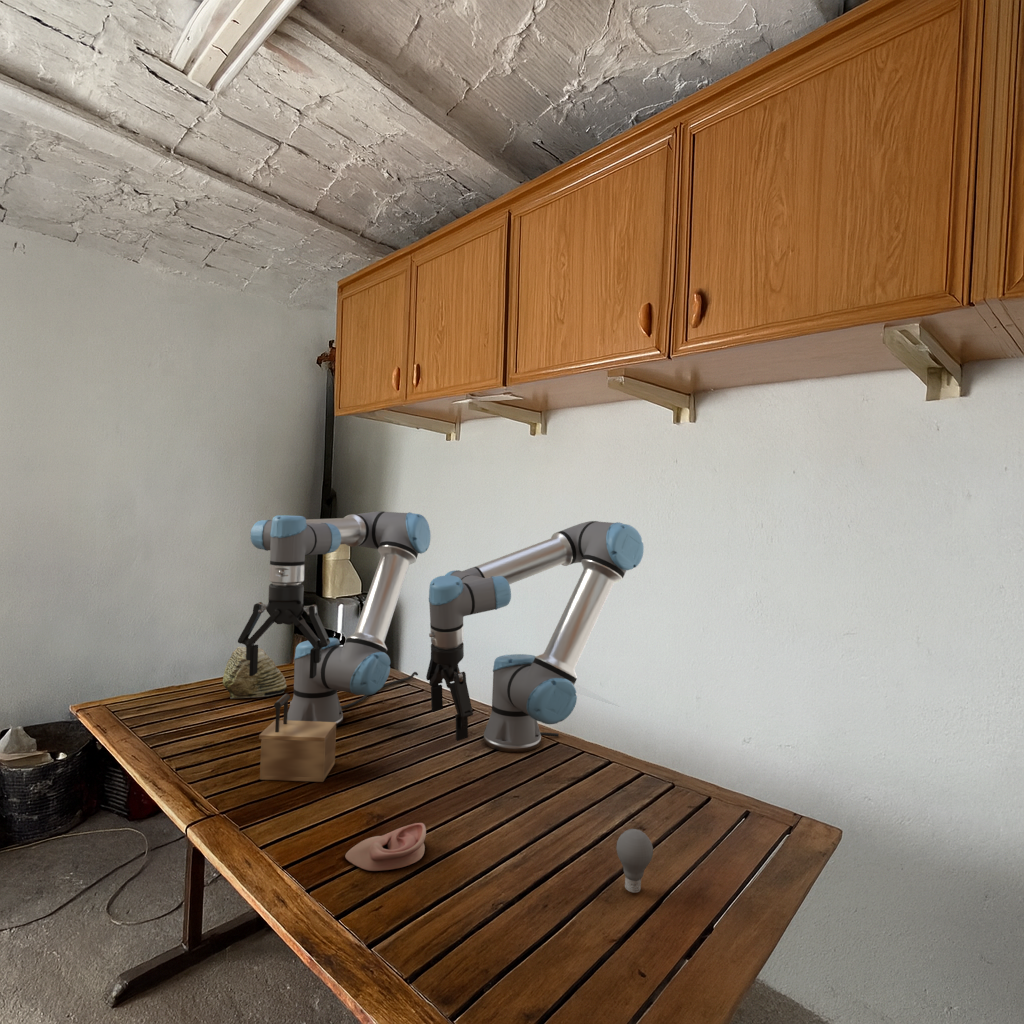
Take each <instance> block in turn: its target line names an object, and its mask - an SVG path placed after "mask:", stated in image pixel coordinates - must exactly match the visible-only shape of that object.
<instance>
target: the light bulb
mask: <svg viewBox="0 0 1024 1024" xmlns="http://www.w3.org/2000/svg"><path fill="white" fill-rule="evenodd" d="M615 849H616V854H617V857H618V859H619V861H620V863H621V865H622V867H623V873H624V874H623V875H624V876H625V878H624V888H625V890H627V891H628V892H630V893H634V894H635V893H639V892H640V891H641V889H642V887H641V886H642V879H643V877H644V875H645V871H646V868H647V867H648V866H649V864H650V863H651V861H652V859H653V855H654V847H653V843H652V841H651V838H649V836H648V835H647V834H646V833H645V832H643V831H642V830H641V829H636V828H629V829H627V830H625V831H623V832H622V833H621V834H620V835H619V837H618V839H617V841H616V847H615Z"/></svg>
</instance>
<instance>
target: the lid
mask: <svg viewBox="0 0 1024 1024" xmlns="http://www.w3.org/2000/svg"><path fill="white" fill-rule="evenodd" d="M290 699H291V695H290V694H289V693H285V694H283V695H282V696H281V697H280V698H279V699H277V700H276V701H275V702H274V703H273V707H274V709H275V719H274V720H273V721H272V722H271V723H270V724H269V725H268V726H267V727H266V728H265V729H264V730H262V732H260V733H259V735H258V740H261V739H269V740H296V741H322V742H325V740H326V739H327V738H328V736H329V735H330V734H331V732H332V731H333V730H334V728H335V727H336V722H318V721H292V720H287V715H288V710H289V701H290ZM282 707H283V719H281V708H282ZM336 728H337V727H336Z"/></svg>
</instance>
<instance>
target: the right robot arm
mask: <svg viewBox="0 0 1024 1024" xmlns="http://www.w3.org/2000/svg"><path fill="white" fill-rule="evenodd" d="M644 548H645V546H644V542H643V538H642V535H641V534H640V532H639V530H637V528H636V527H634V526H632V525H631V524H626V523H623V522H618V521H616V522H609V521H599V520H589V521H585V522H581V523H578V524H576V525H575V524H574V525H572V526H570V527H567V528H564V529H562V530H560V531H557V532H554V533H553V534H552V535H551V537H550V538H549V539H548V538H547V539H546V540H543V541H541V542H538V543H535V544H531V545H530V546H526V547H524V548H521V549H518V550H516V551H513V552H510V553H508V554H505V555H502V556H499V557H497V558H495V559H492V560H489V561H486V562H483V563H480V564H478V565H476V566H472V567H470V568H467V569H464V570H457V569H456V570H450V571H448V572H447V573H445V574H444V575H439V576H437V577H435V578H433V579H432V580H431V581H430V583H429V589H428V602H429V603H428V604H429V619H430V620H429V621H430V622H429V623H430V624H429V625H430V633H428V636H429V638H430V660H429V664H428V668H427V672H426V675H425V677H426V678H425V679H426V681H428V682H429V686H430V703H431V712H432V713H435V712H438V711H442V710H443V709H444V704H443V703H444V702H443V699H444V698H443V685H442V684H443V683H444V682H445V686H446V688H447V689H449V691H450V695H451V697H452V701H453V704H454V708H455V711H456V714H455V715H454V718H455V740H456V741H457V742H460V741H462V740H466V739H468V738H469V717H472V716H474V712H473V706H472V703H471V697H470V694H469V693H470V692H469V689H468V684H467V674H466V672H465V671H460V667H459V663H460V662H461V661H462V660H463V659H464V656H465V649H464V647H465V646H464V640H465V638H464V637H465V636H464V635H465V633H464V617H466V616H467V617H468V616H471V615H475V614H480V613H485V612H489V611H495V610H498V609H501V608H504V607H507V606H508V605H509V604H510V603H511V600H512V588H511V586H510V585H512V584H515V583H517V582H519V581H522V580H524V579H527V578H529V577H532V576H535V575H538V574H541V573H542V572H545V571H547V570H550V569H553V568H555V567H558V566H560V565H561V566H563V567H568V566H570V565H573V564H579V563H581V566H582V572H581V574H580V576H579V579H578V581H577V582H576V584H575V586H574V588H573V591H572V593H571V595H570V597H569V599H568V602H567V604H566V606H565V608H564V610H563V611H562V614H561V616H560V618H559V620H558V623H557V625H556V627H555V628H554V631H553V633H552V635H551V637H550V639H549V641H548V643H547V645H546V648H545V650H544V652H543V653H542V654H539V655H536V656H535V655H534V654H527V653H525V654H524V653H520V654H519V653H513V654H503V655H500V656H497V657H495V658H494V661H493V666H492V667H493V669H492V696H491V697H492V698H491V713H490V715H489V718H488V721H487V724H486V726H485V729H484V732H483V742H484V744H485V745H486V746H487V747H488V748H491V749H493V750H496V751H499V752H500V751H501V752H506V753H525V752H530V751H533V750H535V749H537V748H539V747H540V746H541V744H542V737H543V736H544V737H556V738H558V737H559V733H558V732H557V733H556V732H544V731H541V730H540V726H539V723H538V722H540V723H542V724H545V725H556V724H558V723H560V722H563V721H565V720H566V719H567V718H568V717H569V716H571V714H572V712H573V711H574V709H575V707H576V706H577V705H576V704H577V701H578V696H577V689H576V687H575V684H576V682H577V680H578V675H577V673H576V667H577V665H578V663H579V660H580V659H581V656H582V654H583V652H584V650H585V647H586V645H587V643H588V641H589V639H590V636H591V634H592V632H593V630H594V628H595V625H596V624H597V622H598V619H599V617H600V615H601V612H602V610H603V609H604V605H605V604H606V601H607V599H608V597H609V595H610V593H611V591H612V589H613V587H614V585H615V584H616V583H619V582H622V581H623V579H624V577H625V575H626V572H627V571H630V570H633V569H634V568H637V567H638V566H639V564H641V561H642V559H643V557H644V551H645V549H644ZM443 680H444V682H443Z"/></svg>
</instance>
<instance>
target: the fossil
mask: <svg viewBox="0 0 1024 1024" xmlns="http://www.w3.org/2000/svg"><path fill="white" fill-rule="evenodd" d="M249 670H250V660H246V646H238V647H237V648H236V649H235V650H233V651H232V653H231V656H230V657H229V659H228V660H227V663H226V666H225V668H224V671H223V675H222V676H223V677H222V685H223V687H224V688H225V690H226V691H228V693H229V698H230V699H250V698H264V697H271V696H275V695H281V694H284V693H285V691H286V689H287V687H288V686H287V680H286V678H285V676H284V674H283V673H282V672H281V669H279V668H278V667H277V665H276V663H275V662H274V660H273V659H272V658H271V657H270V656H269V655H268V654H267V653H266V652H265V650H264V649H263V648H260V647H258V667H257V673H256V674H255V675H253V676H249Z"/></svg>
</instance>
